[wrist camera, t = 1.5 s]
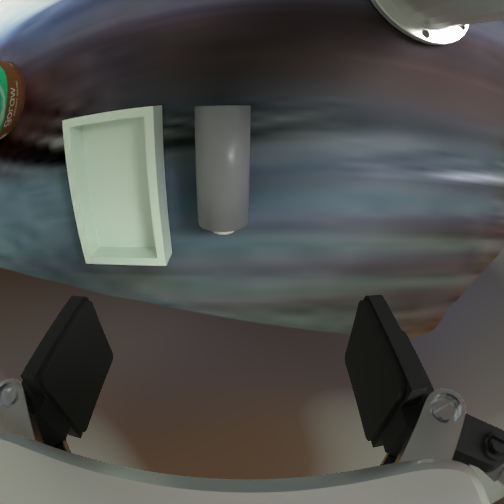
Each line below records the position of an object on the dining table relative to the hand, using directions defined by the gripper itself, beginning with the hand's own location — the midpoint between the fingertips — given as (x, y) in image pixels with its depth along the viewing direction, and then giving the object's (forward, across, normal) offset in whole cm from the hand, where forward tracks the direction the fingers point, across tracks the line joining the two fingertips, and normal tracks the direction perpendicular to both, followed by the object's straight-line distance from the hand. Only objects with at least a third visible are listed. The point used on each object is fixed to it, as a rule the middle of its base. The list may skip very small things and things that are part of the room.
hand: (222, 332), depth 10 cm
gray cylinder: (+19, +1, -2) cm, 19 cm away
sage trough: (+19, +11, 0) cm, 22 cm away
